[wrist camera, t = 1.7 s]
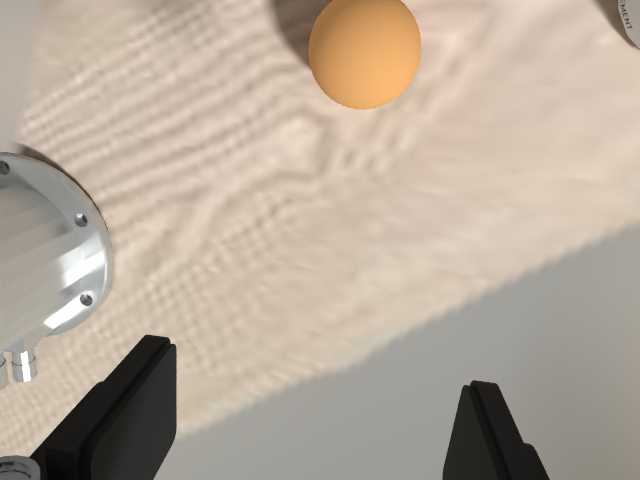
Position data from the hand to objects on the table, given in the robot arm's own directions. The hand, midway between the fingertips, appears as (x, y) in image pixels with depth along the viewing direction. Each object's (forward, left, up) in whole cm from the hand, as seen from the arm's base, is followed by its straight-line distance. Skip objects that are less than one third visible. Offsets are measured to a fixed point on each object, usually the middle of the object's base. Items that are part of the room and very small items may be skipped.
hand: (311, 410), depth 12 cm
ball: (+10, 0, -15) cm, 18 cm away
